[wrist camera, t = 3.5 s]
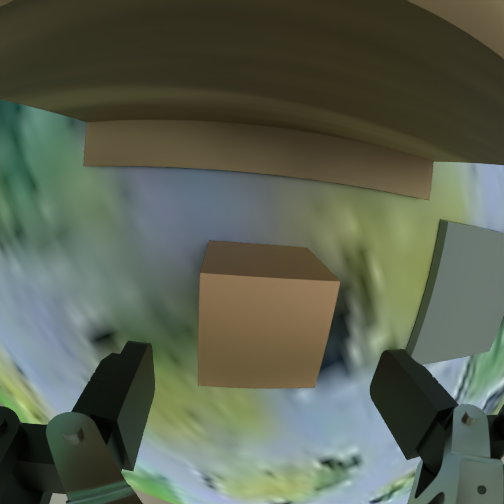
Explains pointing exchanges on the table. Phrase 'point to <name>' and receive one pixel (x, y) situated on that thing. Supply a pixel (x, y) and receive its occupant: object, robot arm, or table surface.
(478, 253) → the slate pad
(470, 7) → the walnut screen
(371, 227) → the table surface
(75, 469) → the robot arm
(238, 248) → the letter cube
